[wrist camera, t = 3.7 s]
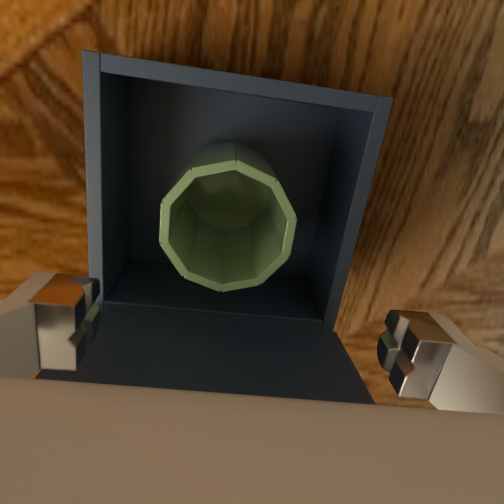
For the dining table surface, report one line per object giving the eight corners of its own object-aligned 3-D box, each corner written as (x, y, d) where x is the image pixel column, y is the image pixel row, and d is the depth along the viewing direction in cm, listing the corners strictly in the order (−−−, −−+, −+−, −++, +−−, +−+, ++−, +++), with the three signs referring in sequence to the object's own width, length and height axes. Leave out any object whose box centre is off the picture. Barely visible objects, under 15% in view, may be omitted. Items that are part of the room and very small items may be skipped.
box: (122, 62, 23) (81, 49, 16) (351, 97, 24) (394, 98, 18) (121, 263, 28) (89, 311, 22) (310, 282, 29) (332, 332, 23)
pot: (281, 145, 24) (306, 169, 16) (266, 238, 27) (282, 298, 19) (185, 132, 24) (163, 150, 16) (178, 229, 26) (156, 286, 18)
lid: (-166, 631, 7) (-129, 752, 9) (502, 630, 9) (450, 734, 10) (86, 309, 21) (87, 376, 22) (336, 331, 23) (322, 392, 24)
